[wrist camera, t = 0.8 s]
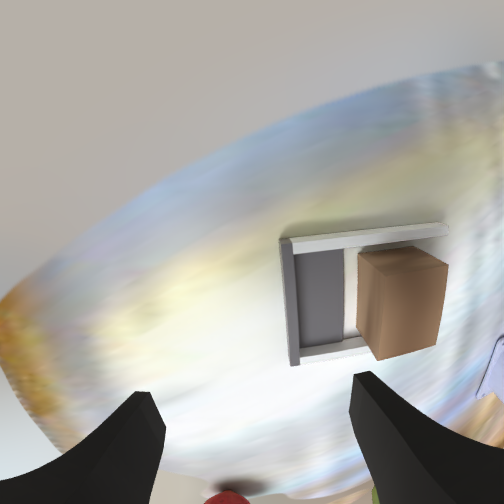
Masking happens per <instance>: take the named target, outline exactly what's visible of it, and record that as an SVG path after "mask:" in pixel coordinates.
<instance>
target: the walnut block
mask: <svg viewBox="0 0 504 504" xmlns="http://www.w3.org/2000/svg"><path fill="white" fill-rule="evenodd" d="M448 266H449V265H448V264H446V263H444V262H442V261H441V260H439V259H437V258H435V257H433V256H431V255H429V254H428V253H426V252H424V251H422V250H420V249H418V248H416V247H414V246H411V247H404V248H396V249H389V250H381V251H374V252H366V253H358V285H357V317H356V328H357V329H358V331H359V332H360V334H361V336H362V337H363V339H364V340H365V342H366V343H367V345H368V347H369V348H370V350H371V351H372V353H373V355H374V356H375V358H376V360H377V361H380V360H384V359H388V358H392V357H396V356H400V355H403V354H407V353H410V352H414V351H417V350H421V349H424V348H427V347H430V346H434V345H436V340H437V336H438V331H439V326H440V321H441V316H442V310H443V304H444V298H445V291H446V283H447V275H448Z"/></svg>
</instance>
